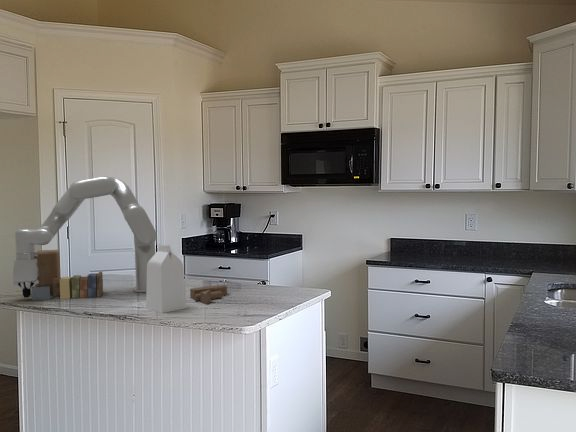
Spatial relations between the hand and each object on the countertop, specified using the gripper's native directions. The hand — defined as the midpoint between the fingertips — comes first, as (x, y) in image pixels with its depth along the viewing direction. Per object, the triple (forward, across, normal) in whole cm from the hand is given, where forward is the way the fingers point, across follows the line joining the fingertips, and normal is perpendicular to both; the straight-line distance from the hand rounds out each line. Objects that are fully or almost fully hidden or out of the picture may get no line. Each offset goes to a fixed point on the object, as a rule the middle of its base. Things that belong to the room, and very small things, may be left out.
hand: (26, 297), depth 245 cm
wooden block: (+1, -6, -16) cm, 17 cm away
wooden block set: (+1, -82, +23) cm, 85 cm away
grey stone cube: (+1, -7, 0) cm, 7 cm away
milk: (+1, -62, +35) cm, 71 cm away
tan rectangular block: (+1, -17, 0) cm, 17 cm away
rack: (+1, -21, -3) cm, 21 cm away
